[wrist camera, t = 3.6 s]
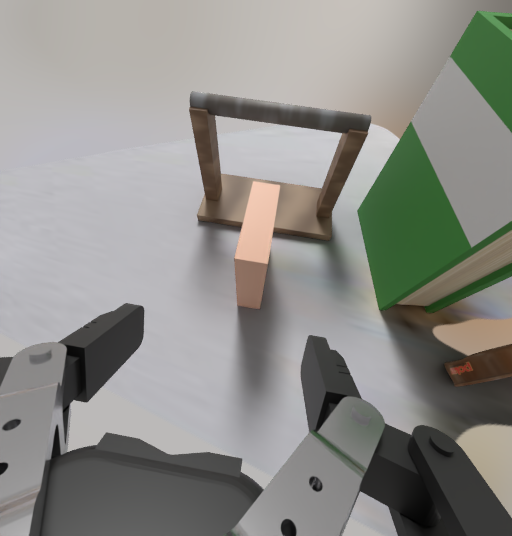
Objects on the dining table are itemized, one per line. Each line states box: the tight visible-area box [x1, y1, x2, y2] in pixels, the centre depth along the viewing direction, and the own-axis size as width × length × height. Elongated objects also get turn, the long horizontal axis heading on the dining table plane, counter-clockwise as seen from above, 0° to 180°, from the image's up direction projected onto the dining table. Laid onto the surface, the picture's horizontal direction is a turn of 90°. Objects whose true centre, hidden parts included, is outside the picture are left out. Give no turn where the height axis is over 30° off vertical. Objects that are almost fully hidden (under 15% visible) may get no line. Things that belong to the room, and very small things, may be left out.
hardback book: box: [358, 11, 512, 313], centre depth 26 cm, size 18×7×24 cm, turn 178°
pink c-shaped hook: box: [234, 181, 280, 309], centre depth 29 cm, size 3×10×12 cm, turn 171°
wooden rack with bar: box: [189, 91, 371, 241], centre depth 33 cm, size 21×10×16 cm, turn 81°
